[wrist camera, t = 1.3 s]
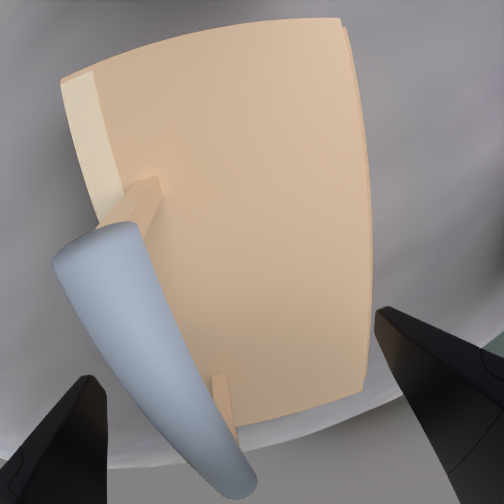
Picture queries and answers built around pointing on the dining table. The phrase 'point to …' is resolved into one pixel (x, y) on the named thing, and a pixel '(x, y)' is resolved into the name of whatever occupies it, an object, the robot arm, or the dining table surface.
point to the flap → (223, 230)
